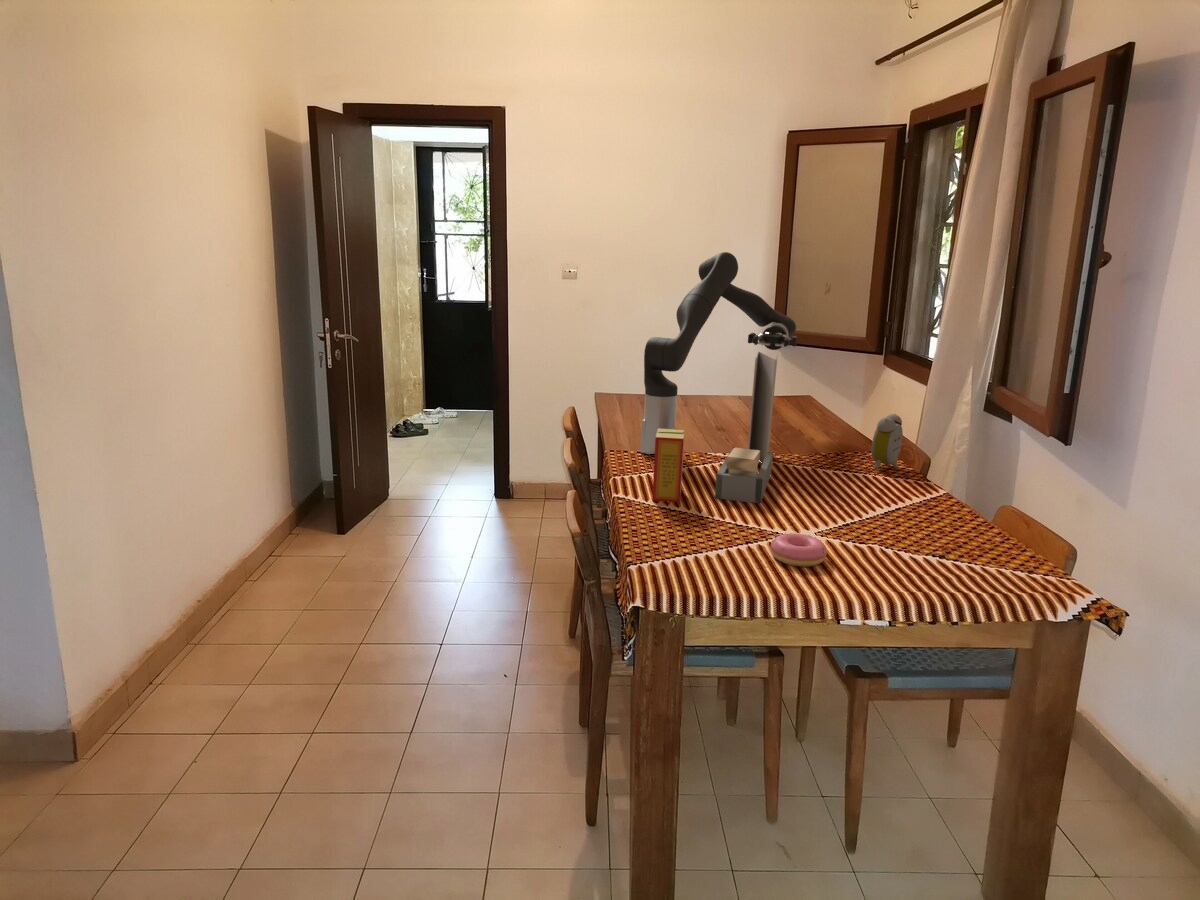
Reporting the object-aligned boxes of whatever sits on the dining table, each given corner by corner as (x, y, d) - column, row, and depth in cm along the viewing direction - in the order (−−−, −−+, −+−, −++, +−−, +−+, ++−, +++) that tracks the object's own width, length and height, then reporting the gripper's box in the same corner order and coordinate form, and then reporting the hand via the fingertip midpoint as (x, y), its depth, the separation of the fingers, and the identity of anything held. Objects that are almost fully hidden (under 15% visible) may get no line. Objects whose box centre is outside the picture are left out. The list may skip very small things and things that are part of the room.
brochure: (766, 467, 227) (776, 359, 219) (746, 465, 228) (755, 358, 221) (768, 454, 240) (777, 352, 233) (749, 452, 242) (758, 351, 234)
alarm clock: (880, 462, 236) (887, 411, 232) (905, 466, 232) (911, 414, 229) (868, 470, 227) (874, 417, 223) (892, 475, 223) (899, 421, 219)
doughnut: (816, 549, 168) (818, 530, 167) (833, 570, 158) (835, 550, 157) (763, 548, 168) (765, 529, 167) (777, 569, 157) (779, 549, 156)
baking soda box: (679, 502, 194) (683, 437, 190) (652, 501, 195) (655, 435, 191) (681, 491, 203) (684, 428, 199) (654, 489, 204) (658, 426, 200)
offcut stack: (724, 496, 200) (726, 457, 197) (729, 485, 209) (732, 447, 207) (753, 500, 198) (757, 460, 195) (758, 488, 207) (761, 450, 205)
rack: (714, 498, 198) (716, 474, 197) (730, 469, 223) (732, 448, 222) (760, 503, 195) (762, 479, 194) (771, 473, 220) (773, 452, 219)
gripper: (753, 322, 255) (746, 327, 240) (799, 325, 252) (796, 331, 237) (751, 346, 257) (745, 353, 242) (797, 350, 254) (794, 356, 238)
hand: (770, 342), depth 239 cm, fingers open, 8 cm apart
